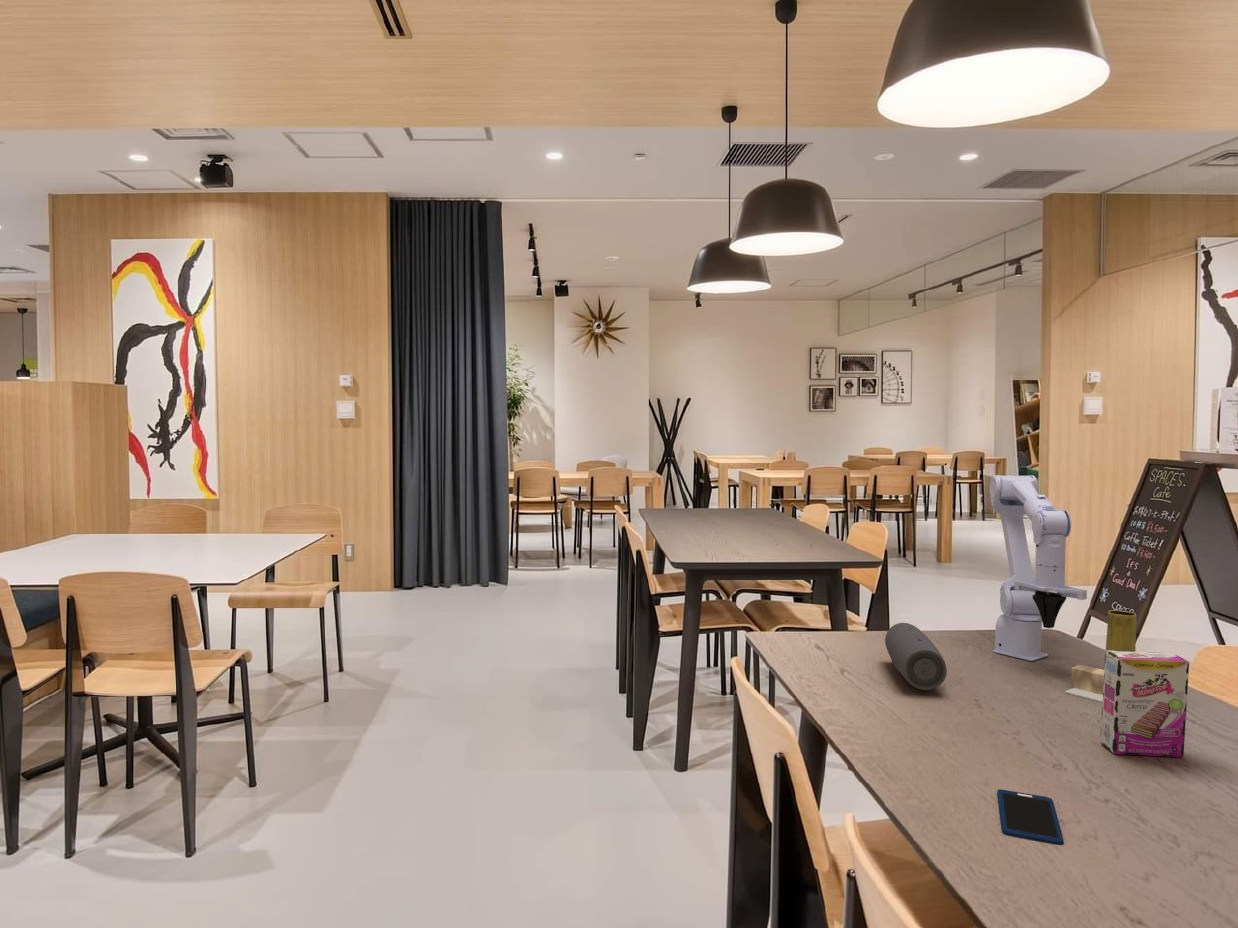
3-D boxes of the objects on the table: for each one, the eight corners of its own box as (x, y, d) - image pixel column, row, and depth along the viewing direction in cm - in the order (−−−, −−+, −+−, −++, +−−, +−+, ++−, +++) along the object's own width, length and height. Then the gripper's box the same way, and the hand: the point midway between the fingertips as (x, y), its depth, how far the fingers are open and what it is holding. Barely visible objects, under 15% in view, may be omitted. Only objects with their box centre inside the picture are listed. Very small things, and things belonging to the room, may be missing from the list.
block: (1071, 667, 165) (1113, 677, 159) (1080, 664, 168) (1122, 674, 161) (1070, 686, 166) (1113, 697, 159) (1079, 683, 168) (1121, 693, 162)
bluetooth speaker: (949, 697, 160) (951, 648, 159) (901, 695, 161) (902, 646, 161) (924, 664, 182) (925, 620, 182) (882, 662, 183) (883, 619, 183)
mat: (1064, 692, 163) (1065, 691, 163) (1091, 681, 170) (1091, 680, 170) (1113, 705, 155) (1113, 703, 155) (1138, 693, 163) (1138, 691, 163)
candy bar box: (1114, 755, 132) (1118, 657, 131) (1099, 743, 137) (1102, 649, 136) (1186, 759, 131) (1190, 660, 130) (1168, 746, 136) (1172, 651, 135)
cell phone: (1052, 802, 116) (1052, 797, 116) (1064, 848, 103) (1064, 842, 103) (996, 792, 119) (996, 787, 119) (1002, 836, 106) (1002, 831, 106)
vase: (1142, 682, 170) (1145, 616, 169) (1113, 682, 170) (1116, 615, 169) (1125, 673, 176) (1127, 609, 175) (1097, 673, 176) (1099, 609, 175)
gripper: (1007, 562, 178) (1006, 623, 178) (1076, 571, 166) (1075, 636, 166) (1023, 560, 182) (1022, 619, 182) (1091, 568, 170) (1090, 631, 170)
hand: (1048, 627), depth 174 cm, fingers closed
